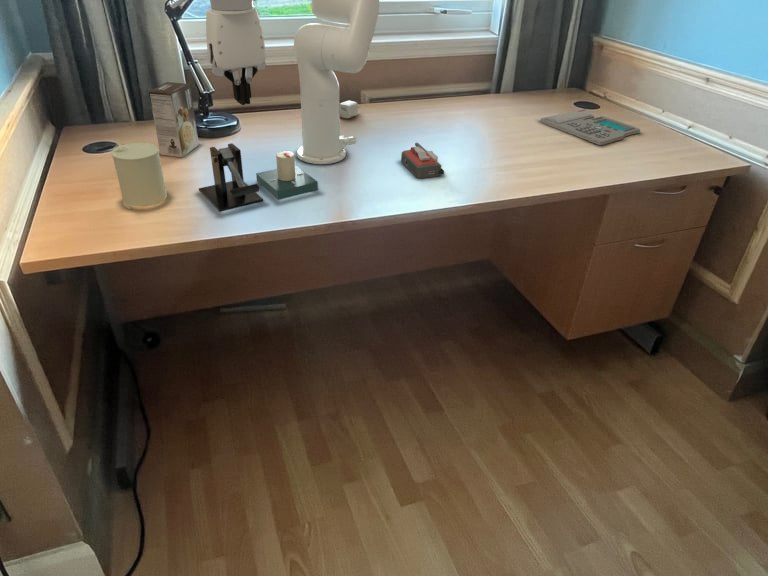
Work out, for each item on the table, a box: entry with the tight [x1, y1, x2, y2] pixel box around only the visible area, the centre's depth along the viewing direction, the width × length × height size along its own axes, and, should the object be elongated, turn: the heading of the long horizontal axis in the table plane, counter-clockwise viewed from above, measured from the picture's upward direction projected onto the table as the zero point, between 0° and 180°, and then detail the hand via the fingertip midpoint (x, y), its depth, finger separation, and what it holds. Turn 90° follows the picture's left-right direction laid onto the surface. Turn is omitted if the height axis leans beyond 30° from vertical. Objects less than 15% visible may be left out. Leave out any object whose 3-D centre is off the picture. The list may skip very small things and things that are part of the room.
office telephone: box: [540, 109, 641, 146], centre depth 177 cm, size 23×3×20 cm
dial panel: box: [255, 164, 319, 201], centre depth 133 cm, size 10×11×3 cm
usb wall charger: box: [339, 99, 361, 119], centre depth 178 cm, size 4×7×4 cm, turn 145°
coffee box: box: [148, 81, 200, 158], centre depth 146 cm, size 9×6×16 cm
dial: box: [275, 150, 296, 181], centre depth 131 cm, size 4×4×6 cm
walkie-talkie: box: [400, 142, 445, 179], centre depth 148 cm, size 9×4×20 cm
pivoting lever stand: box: [198, 142, 264, 213], centre depth 125 cm, size 12×10×12 cm
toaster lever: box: [218, 146, 260, 198], centre depth 122 cm, size 12×6×2 cm, turn 35°
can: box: [111, 142, 168, 211], centre depth 123 cm, size 9×9×12 cm
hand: (243, 102), depth 116 cm, fingers closed
